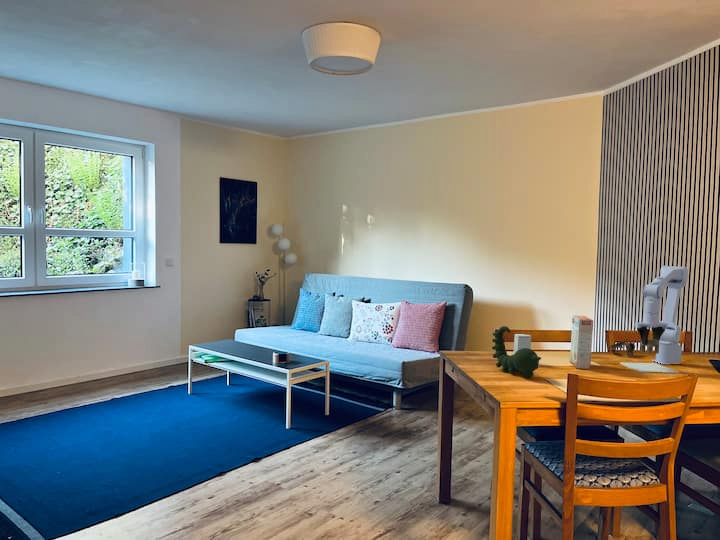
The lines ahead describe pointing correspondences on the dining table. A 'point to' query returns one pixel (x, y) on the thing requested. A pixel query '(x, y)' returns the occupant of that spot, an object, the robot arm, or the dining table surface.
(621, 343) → the pottery mug
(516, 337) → the skincare box
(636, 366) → the grey mat
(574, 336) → the cracker box
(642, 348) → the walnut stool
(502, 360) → the toy figurine
